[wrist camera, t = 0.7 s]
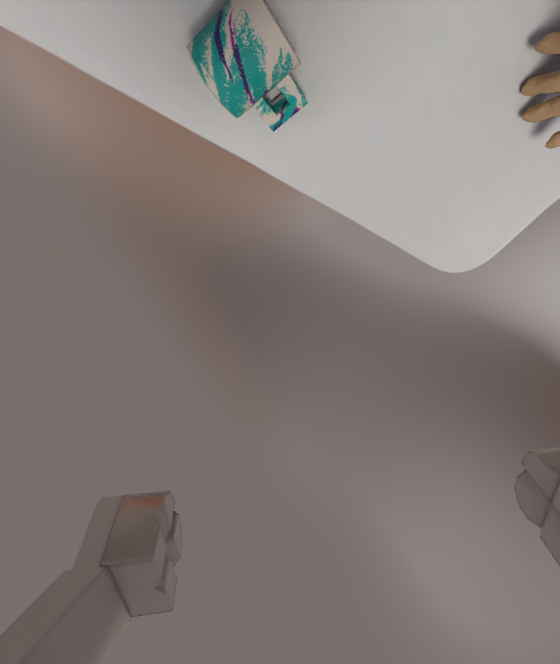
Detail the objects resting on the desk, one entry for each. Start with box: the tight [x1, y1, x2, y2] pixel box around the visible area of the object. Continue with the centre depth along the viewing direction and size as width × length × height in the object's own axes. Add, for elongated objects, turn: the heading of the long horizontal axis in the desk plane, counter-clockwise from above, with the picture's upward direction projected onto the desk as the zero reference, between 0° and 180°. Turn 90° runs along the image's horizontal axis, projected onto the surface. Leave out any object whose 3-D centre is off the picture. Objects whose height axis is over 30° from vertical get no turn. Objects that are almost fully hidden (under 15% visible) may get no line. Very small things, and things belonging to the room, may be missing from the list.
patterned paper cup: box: [187, 0, 308, 132], centre depth 43 cm, size 8×12×8 cm
